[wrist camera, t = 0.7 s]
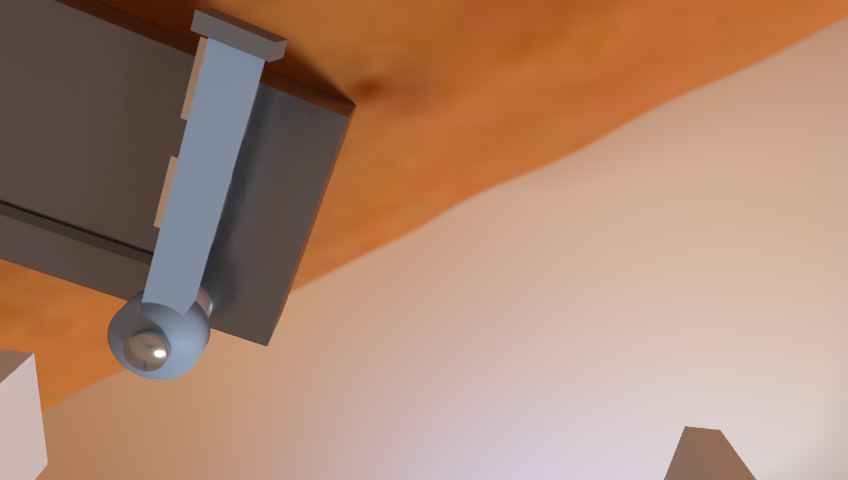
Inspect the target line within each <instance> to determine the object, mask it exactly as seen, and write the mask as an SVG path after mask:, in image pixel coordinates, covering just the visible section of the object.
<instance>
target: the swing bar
mask: <svg viewBox="0 0 848 480" xmlns="http://www.w3.org/2000/svg"><path fill="white" fill-rule="evenodd" d="M190 30H191V31H194V32H196V33H199V34H201V35H203V36H206V37H208V41H207V45H206V49H205V53H204V57H203V61H202V65H201V69H200V73H199V77H198V81H197V85H196V89H195V93H194V97H193V101H192V105H191V109H190V113H189V117H188V121H187V124H186V128H185V132H184V136H183V140H182V144H181V148H180V152H179V156H178V160H177V164H176V168H175V172H174V176H173V180H172V184H171V188H170V192H169V196H168V200H167V204H166V208H165V212H164V216H163V220H162V223H161V227H160V231H159V235H158V239H157V243H156V247H155V251H154V255H153V259H152V263H151V267H150V271H149V275H148V279H147V283H146V287H145V290H143V291H141V292H139V293H137V294H136V295H134V296H133V297H132V298H131V299H130V300H129V301H128V302H127V303H126V304H125V305H124V306H123V307H122V308H121V309H120V310H119V311H118V312H117V313H116V314H115V315H114V317H113V318H112V320H111V322H110V324H109V327H108V343H109V346H110V349H111V351H112V353H113V354H114V356H115V357H116V359H117V360H118V361H119V362H120V363H121V364H122V365H123V366H124V367H125V368H127V369H128V370H130V371H131V372H133V373H135V374H137V375H139V376H142V377H145V378H149V379H154V380H168V379H172V378H176V377H179V376H181V375H183V374H185V373H186V372H188V371H189V370H190V369H191V368H192V367H193V365H194V364H195V362H196V361H197V359H198V358H199V356H200V355H201V353H202V351H203V350H204V348H205V346H206V345H207V343H208V341H209V337H210V323H209V319H208V317H207V315H206V313H205V311H204V310H203V308H202V307H201V306H200V305H199V303H198V302H197V301H195V300H196V297H197V293H198V290H199V286H200V283H201V279H202V276H203V273H204V269H205V266H206V262H207V259H208V255H209V252H210V248H211V245H212V242H213V238H214V235H215V231H216V228H217V224H218V221H219V218H220V214H221V211H222V207H223V204H224V200H225V197H226V193H227V190H228V187H229V183H230V180H231V176H232V173H233V169H234V166H235V163H236V159H237V156H238V152H239V149H240V145H241V142H242V138H243V135H244V132H245V128H246V125H247V121H248V118H249V114H250V111H251V108H252V104H253V101H254V97H255V94H256V90H257V87H258V84H259V80H260V77H261V73H262V70H263V66H264V63H265V61H268V62H272V61H275V60H278V59H281V58H283V56H284V52H285V49H286V46H287V43H288V39H285V38H283V37H280V36H278V35H276V34H273V33H271V32H268V31H266V30H263V29H261V28H259V27H256V26H254V25H251V24H249V23H247V22H244V21H242V20H239V19H237V18H234V17H232V16H230V15H227V14H225V13H222V12H220V11H218V10H195V12H194V17H193V21H192V25H191V29H190ZM140 329H153V330H156V331H158V332H160V333H162V334H163V335H164V336H165V337H166V338H167V339H168V340H169V342H170V345H171V354H170V356H169V358H168V359H167V361H166V362H165V363H164V365H163V366H162V367H161V368H159V369H157V370H155V371H141V370H138V369H136V368H134V367H133V366H131V365H130V364H129V363H128V362H127V361H126V359H125V357H124V354H123V346H124V344H125V342H126V341H127V340H128V339H129V338H130V336H131V335H132V334H133V333H134V332H136V331H138V330H140Z"/></svg>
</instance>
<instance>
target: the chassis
mask: <svg viewBox="0 0 848 480" xmlns="http://www.w3.org/2000/svg"><path fill="white" fill-rule="evenodd" d="M207 41H208V39H207V38H205V37H202V36H201V37H200V40H199V42H198V41H196V40H193V39H191V38H188V37H186V36H183V35H181V34H178V33H176V32H173V31H171V30H169V29H166V28H164V27H161V26H159V25H156V24H154V23H151V22H149V21H146V20H144V19H141V18H139V17H136V16H134V15H131V14H129V13H126V12H124V11H121V10H119V9H116V8H114V7H112V6H109V5H107V4H104V3H102V2H99V1H97V0H0V259H2V260H5V261H8V262H11V263H14V264H17V265H21V266H24V267H27V268H30V269H33V270H36V271H39V272H42V273H45V274H48V275H51V276H54V277H57V278H60V279H63V280H66V281H69V282H72V283H75V284H78V285H81V286H84V287H87V288H91V289H94V290H97V291H100V292H103V293H106V294H109V295H112V296H115V297H118V298H121V299H124V300H127V301H129V300H130V299H131V298H132V297H133V296H134V295H136V294H137V293H139V292H141V291H143V290H145V287H146V283H147V279H148V275H149V271H150V267H151V263H152V259H153V255H154V251H155V247H156V243H157V239H158V235H159V231H160V227H161V223H162V220H163V216H164V212H165V208H166V204H167V200H168V196H169V192H170V188H171V184H172V180H173V176H174V172H175V168H176V164H177V160H178V156H179V152H180V148H181V144H182V140H183V136H184V132H185V128H186V124H187V121H188V117H189V113H190V109H191V105H192V101H193V97H194V93H195V89H196V85H197V81H198V77H199V73H200V69H201V65H202V61H203V57H204V53H205V49H206V45H207ZM355 107H356V105H354V104H352V103H349V102H347V101H345V100H342V99H340V98H337V97H335V96H332V95H330V94H327V93H325V92H322V91H320V90H317V89H315V88H312V87H310V86H307V85H305V84H302V83H300V82H297V81H295V80H292V79H290V78H288V77H285V76H283V75H280V74H278V73H275V72H273V71H270V70H268V69H265V68H263V70H262V73H261V77H260V80H259V84H258V87H257V90H256V94H255V97H254V101H253V104H252V108H251V111H250V114H249V118H248V121H247V125H246V128H245V132H244V135H243V138H242V142H241V145H240V149H239V152H238V156H237V159H236V163H235V166H234V169H233V173H232V176H231V180H230V183H229V187H228V190H227V193H226V197H225V200H224V204H223V207H222V211H221V214H220V218H219V221H218V224H217V228H216V231H215V235H214V238H213V242H212V245H211V248H210V252H209V255H208V259H207V262H206V266H205V269H204V273H203V276H202V279H201V283H200V286H199V290H198V293H197V297H196V300H195V301H197V302H198V303H199V305H200V306H201V307H202V308H203V310H204V311H205V313H206V315H207V317H208V319H209V323H210V328H212V329H216V330H219V331H222V332H224V333H228V334H231V335H234V336H237V337H240V338H243V339H246V340H249V341H252V342H255V343H258V344H261V345H264V346H267V345H268V343H269V341H270V339H271V337H272V334H273V332H274V330H275V327H276V325H277V323H278V321H279V318H280V316H281V314H282V312H283V309H284V306H285V303H286V300H287V298H288V295H289V292H290V289H291V287H292V284H293V281H294V278H295V275H296V273H297V270H298V267H299V264H300V261H301V259H302V256H303V253H304V250H305V247H306V245H307V242H308V239H309V236H310V233H311V231H312V228H313V225H314V222H315V219H316V217H317V214H318V211H319V208H320V205H321V203H322V200H323V197H324V194H325V191H326V189H327V186H328V183H329V180H330V177H331V175H332V172H333V169H334V166H335V163H336V161H337V158H338V155H339V152H340V149H341V146H342V144H343V141H344V138H345V135H346V132H347V130H348V127H349V124H350V121H351V118H352V116H353V113H354V110H355ZM123 354H124V357H125V359H126V361H127V362H128V363H129V364H130V365H131V366H133V367H134V368H136V369H138V370H141V371H155V370H157V369H159V368H161V367H162V366H163V365H164V363H165V362H166V361H167V359H168V358H169V356H170V354H171V345H170V342H169V340H168V339H167V338H166V337H165V336H164V335H163V334H162V333H160V332H158V331H156V330H153V329H140V330H138V331H136V332H134V333H133V334H132V335H131V336H130V338H129V339H128V340H127V341H126V342H125V344H124V346H123Z"/></svg>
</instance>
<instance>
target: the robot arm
mask: <svg viewBox="0 0 848 480" xmlns="http://www.w3.org/2000/svg"><path fill="white" fill-rule="evenodd" d="M47 464H48V463H47V455H46V447H45V439H44V431H43V424H42V415H41V407H40V399H39V391H38V383H37V375H36V367H35V359H34V353H28V352H19V351H10V350H1V349H0V480H35V479H36V477H37V476H38V475H39V474H40V473H41V471H42V470H43V469H44V468H45V466H46V465H47ZM664 480H756V479H755V478H754V476H753V475H752V473H751V472H750V471H749V470H748V468H747V467H746V465H745V464H744V462H743V461H742V460H741V458H740V457H739V456H738V454H737V453H736V451H735V450H734V449H733V447H732V446H731V444H730V443H729V442H728V440H727V439H726V438H725V436H724V435H723V434H722V432H721V431H720V430H713V429H704V428H696V427H687V426H686V427H685V428H684V431H683V433H682V436H681V438H680V441H679V444H678V446H677V449H676V451H675V454H674V456H673V459H672V461H671V464H670V466H669V469H668V471H667V474H666V476H665V479H664Z"/></svg>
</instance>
